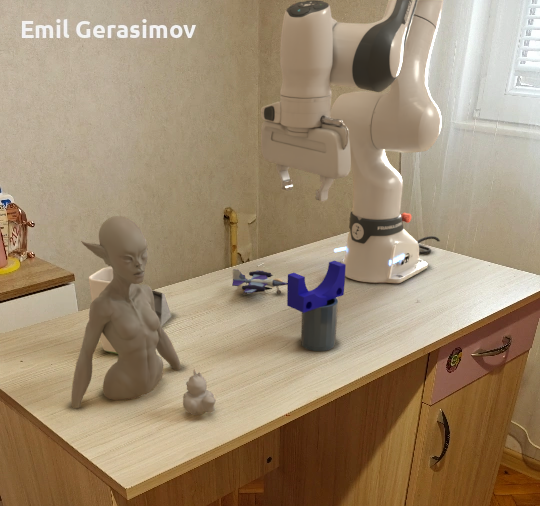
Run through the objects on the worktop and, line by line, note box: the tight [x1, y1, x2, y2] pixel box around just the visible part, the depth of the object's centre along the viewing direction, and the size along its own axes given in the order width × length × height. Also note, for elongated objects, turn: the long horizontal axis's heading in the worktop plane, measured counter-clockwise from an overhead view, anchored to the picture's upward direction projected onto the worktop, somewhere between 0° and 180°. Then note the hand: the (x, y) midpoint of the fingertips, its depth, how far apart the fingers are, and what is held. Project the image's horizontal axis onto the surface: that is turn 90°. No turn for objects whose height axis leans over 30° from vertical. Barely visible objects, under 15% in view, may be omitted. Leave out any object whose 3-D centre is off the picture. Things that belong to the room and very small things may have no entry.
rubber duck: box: [182, 368, 217, 416], centre depth 118 cm, size 5×7×8 cm
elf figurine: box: [70, 215, 182, 409], centre depth 118 cm, size 23×10×30 cm, turn 133°
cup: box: [88, 266, 118, 355], centre depth 136 cm, size 7×7×15 cm
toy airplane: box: [231, 269, 288, 296], centre depth 164 cm, size 13×14×4 cm
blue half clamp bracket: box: [286, 260, 346, 313], centre depth 135 cm, size 12×4×6 cm, turn 130°
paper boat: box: [151, 289, 173, 327], centre depth 151 cm, size 12×6×9 cm
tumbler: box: [300, 297, 339, 352], centre depth 140 cm, size 7×7×9 cm
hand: (303, 194), depth 134 cm, fingers open, 8 cm apart
